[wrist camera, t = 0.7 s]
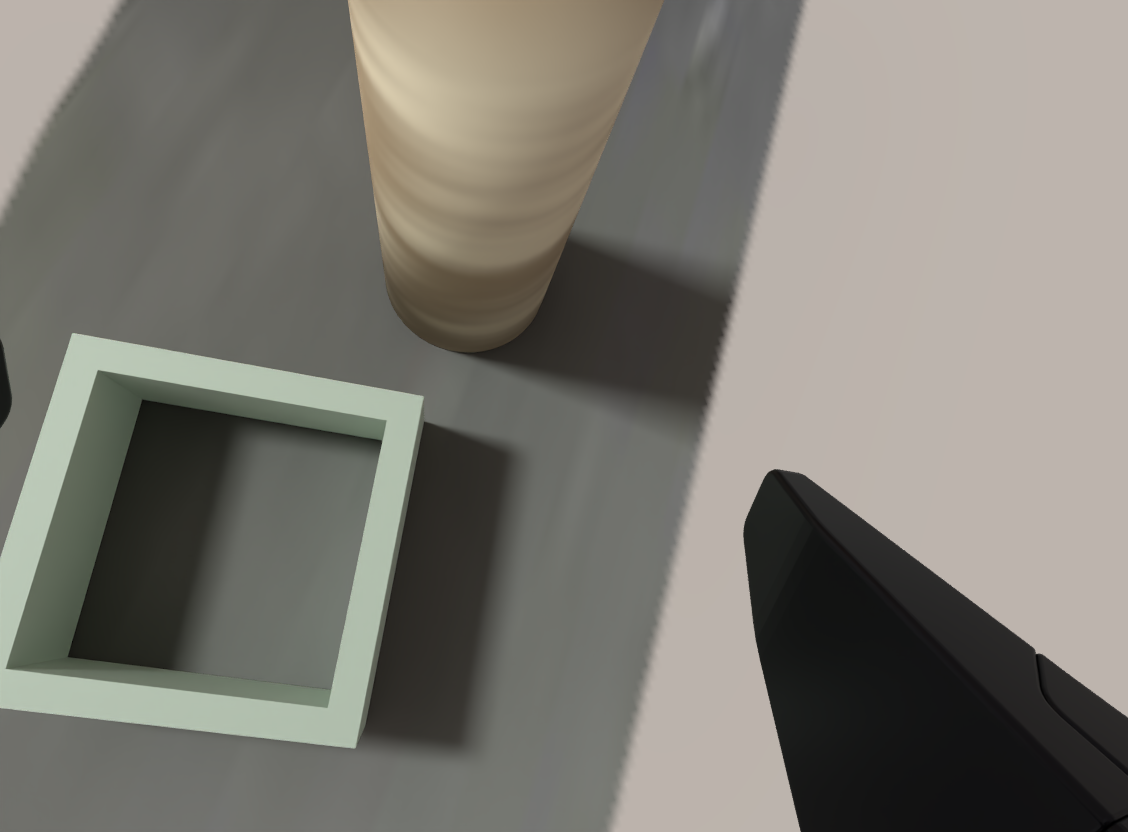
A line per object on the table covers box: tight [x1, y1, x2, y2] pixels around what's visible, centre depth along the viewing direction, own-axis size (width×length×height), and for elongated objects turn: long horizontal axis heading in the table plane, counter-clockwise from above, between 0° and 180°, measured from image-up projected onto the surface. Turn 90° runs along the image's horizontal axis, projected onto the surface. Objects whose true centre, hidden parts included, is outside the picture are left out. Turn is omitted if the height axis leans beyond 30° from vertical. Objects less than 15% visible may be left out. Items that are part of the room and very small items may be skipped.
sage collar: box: [0, 333, 424, 748], centre depth 19 cm, size 9×9×3 cm
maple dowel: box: [348, 0, 664, 353], centre depth 18 cm, size 5×5×13 cm
